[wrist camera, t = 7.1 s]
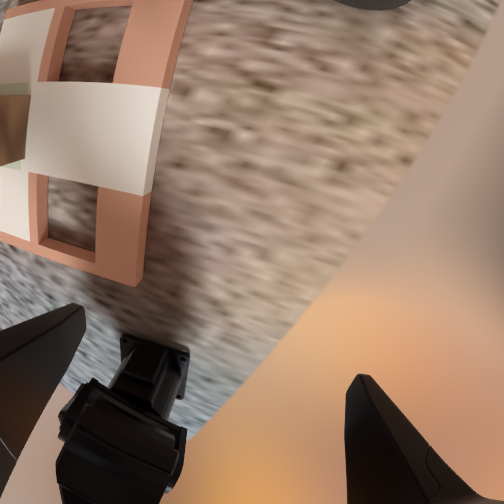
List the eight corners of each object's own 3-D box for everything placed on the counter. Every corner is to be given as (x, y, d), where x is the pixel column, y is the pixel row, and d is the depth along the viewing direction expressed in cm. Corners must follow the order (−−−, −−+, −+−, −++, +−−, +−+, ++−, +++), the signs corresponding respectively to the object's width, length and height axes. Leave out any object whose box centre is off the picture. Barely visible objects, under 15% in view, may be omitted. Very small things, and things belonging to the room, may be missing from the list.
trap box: (142, 277, 24) (124, 301, 21) (-3, 229, 24) (-26, 243, 20) (195, -6, 15) (179, -25, 12) (18, 11, 15) (-9, 6, 12)
